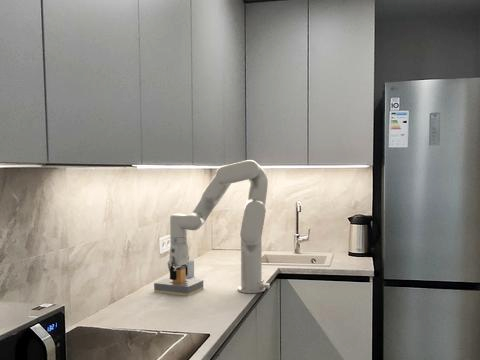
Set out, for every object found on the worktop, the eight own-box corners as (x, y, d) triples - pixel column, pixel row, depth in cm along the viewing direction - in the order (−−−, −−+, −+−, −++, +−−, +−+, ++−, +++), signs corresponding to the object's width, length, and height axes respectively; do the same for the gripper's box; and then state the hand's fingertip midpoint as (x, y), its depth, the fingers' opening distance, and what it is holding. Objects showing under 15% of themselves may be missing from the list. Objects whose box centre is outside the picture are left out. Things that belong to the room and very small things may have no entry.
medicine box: (187, 275, 256) (187, 259, 256) (194, 276, 254) (194, 260, 254) (178, 278, 250) (178, 261, 249) (185, 279, 247) (184, 262, 247)
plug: (185, 287, 226) (185, 266, 225) (180, 289, 222) (180, 267, 221) (177, 286, 227) (177, 265, 227) (172, 288, 223) (172, 267, 223)
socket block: (203, 288, 227) (203, 280, 227) (188, 295, 214) (188, 286, 214) (170, 285, 235) (170, 277, 234) (154, 291, 222) (154, 283, 222)
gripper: (175, 243, 215) (175, 282, 215) (194, 238, 230) (195, 274, 231) (161, 242, 218) (161, 280, 218) (181, 237, 234) (181, 273, 234)
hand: (178, 277), depth 224 cm, fingers open, 9 cm apart
